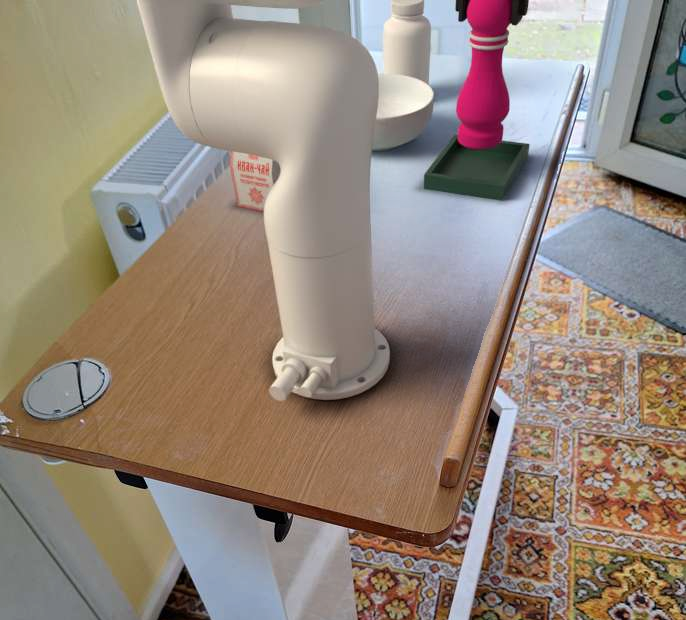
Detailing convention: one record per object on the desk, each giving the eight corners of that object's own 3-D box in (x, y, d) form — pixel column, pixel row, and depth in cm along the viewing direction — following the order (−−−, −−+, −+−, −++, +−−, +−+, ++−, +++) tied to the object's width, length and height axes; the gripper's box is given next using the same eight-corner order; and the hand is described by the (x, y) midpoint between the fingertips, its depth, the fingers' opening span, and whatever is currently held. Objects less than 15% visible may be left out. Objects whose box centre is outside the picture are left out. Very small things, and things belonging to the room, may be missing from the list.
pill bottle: (430, 106, 116) (433, 4, 104) (383, 109, 116) (382, 8, 105) (427, 88, 121) (430, -10, 110) (382, 91, 121) (381, -7, 110)
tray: (502, 200, 93) (504, 186, 91) (423, 188, 96) (424, 174, 95) (527, 157, 101) (529, 143, 99) (453, 148, 104) (454, 134, 103)
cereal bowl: (313, 160, 105) (309, 113, 99) (343, 116, 115) (341, 71, 110) (420, 168, 101) (421, 119, 95) (441, 122, 111) (443, 75, 106)
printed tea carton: (251, 194, 99) (239, 124, 91) (290, 202, 96) (281, 130, 89) (237, 205, 97) (224, 135, 89) (277, 214, 94) (267, 142, 87)
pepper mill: (504, 151, 92) (524, -22, 77) (451, 150, 93) (461, -21, 78) (506, 129, 97) (526, -39, 82) (456, 128, 98) (466, -38, 83)
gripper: (417, -169, 71) (414, 25, 85) (583, -173, 66) (552, 35, 79) (441, -179, 75) (434, 7, 89) (598, -184, 70) (566, 15, 83)
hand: (490, 18), depth 84 cm, fingers closed on pepper mill, 6 cm apart
